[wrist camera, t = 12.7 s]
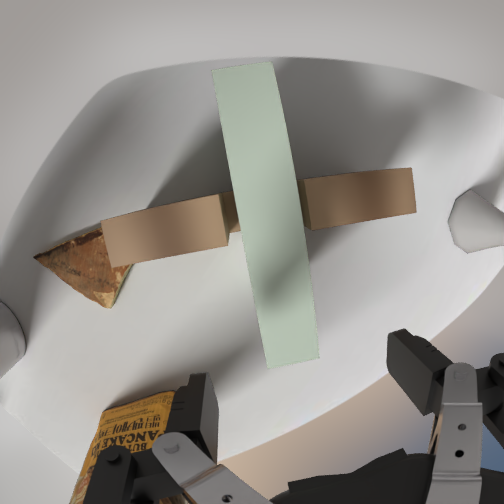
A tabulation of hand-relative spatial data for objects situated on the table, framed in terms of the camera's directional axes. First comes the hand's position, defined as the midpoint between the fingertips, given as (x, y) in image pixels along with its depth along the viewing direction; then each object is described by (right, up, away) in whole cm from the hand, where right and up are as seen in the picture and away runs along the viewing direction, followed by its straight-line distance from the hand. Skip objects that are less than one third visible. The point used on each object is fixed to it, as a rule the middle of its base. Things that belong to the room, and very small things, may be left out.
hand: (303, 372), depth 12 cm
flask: (+24, +9, +17) cm, 30 cm away
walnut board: (-2, +9, +15) cm, 18 cm away
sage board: (-2, +9, +15) cm, 18 cm away
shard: (-19, +3, +16) cm, 25 cm away
